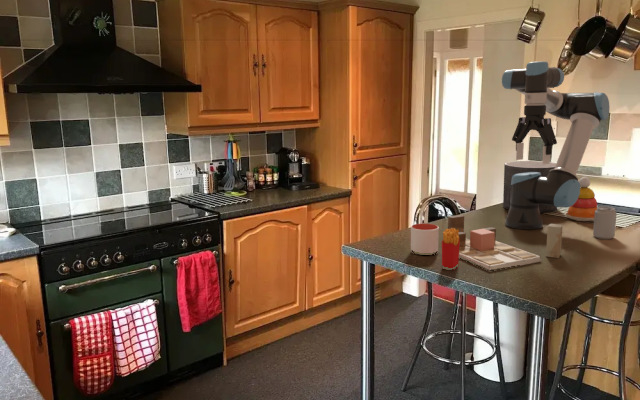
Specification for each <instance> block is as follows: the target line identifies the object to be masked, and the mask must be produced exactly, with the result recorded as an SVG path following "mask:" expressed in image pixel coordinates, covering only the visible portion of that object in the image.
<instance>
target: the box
mask: <svg viewBox="0 0 640 400" xmlns="http://www.w3.org/2000/svg"><path fill="white" fill-rule="evenodd" d="M563 226H564V225H563V224H557V223H549V224H548V225H547V233H546V250H545V257H548V258H554V259H556V258H557V259H559V258H560V256H561V252H562V241H563V240H562V238H563Z"/></svg>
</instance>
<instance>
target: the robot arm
mask: <svg viewBox="0 0 640 400" xmlns="http://www.w3.org/2000/svg"><path fill="white" fill-rule="evenodd" d="M564 80H565V74H564V70H562V69H561V68H559V67H555V66H554V67H553V66H552V67H549V63H548V61H530V62H528V63H526V68H518V69H507V70H505V71H504V72H503V73H502V78H501V85H502V87H503V88H504V90H505V89H506V90H516V91H517V92H519V93H521V94H523V96H524V104H525V105H524V107H523V116H524V117H523V116H522V117H519V118H518V122H517V125H516V128H515V131H514V133H513V136H512V137H511V141H513V142H515V151H516V155H515V156H516V158H515V160H516V161H524V140H525V138H526V137H527V135H528V134H529V132H530V131H536V132H537V133H538V134H539V136H540V139H541V140H542V142H543V144H544V145H543V147H542V161H543V162H542V164H549V163H550V162H551V156H552V149H553V146H554V145H557V144H558V142H557V139H556V135H555V132H554V128H553V126H552V119H551V118H550V117H548V118H547V117H546V118H545V116H546V114H547V113H548V114H550V115H552V116H554V117H556V118H558V119H563V120H566V121H570V122H571V125H570V127H569V130H568V132H567V135H566V137H565V140H564V143H563V146H562V148H561V150H560V153H559V155H558V158H557V161H556V162H555V163H556V166H555V168H554V169H552V170H550V171H549V173H548V176H547V177H541V173H540V172H528V173H519V174H515V175H513V176H512V181H511V200H510V209H509V210H508V212H507V215H506V217H505V220H504V225H505V226H507V227H509V228H513V229H518V230H538V229H542V227H543V219H542V217H541V213H540V211H539V204H542V205H549V206H556V207H557V208H569V207H570V206H572V205H573V204H574V203H575V202H576V201H577V199H578V197H579V194H580V188H581V187H580V183H579V178H578V176H577V173H578V171H579V167H580V165H581V162H582V160H583V157H584V155H585V152H586V149H587V146H588V144H589V141H590V139H591V136H592V132H593V131H594V129H595V128H598V127H599V126H600V123H601V121H606V120H608V118H609V115H610V100H609V98H608V95H607V94H606V93H604V92H597V91H594V92H560V91H558V90H553V89H555V88H558V87H559V86H561V85H562V84H563V83H564V82H565V81H564Z"/></svg>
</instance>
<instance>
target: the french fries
mask: <svg viewBox="0 0 640 400" xmlns="http://www.w3.org/2000/svg"><path fill="white" fill-rule="evenodd" d="M450 229H451V230H450ZM450 229H448V228H446V229H444V231H442V232H443V234H442V235H443V237H442V240H441V266H442V265H443V266H444V267H448V268H453V267H455V266H456V265H457V264H458V265H459V263H460V261H459V260H460V258H459V245H460V239H459V230H458V229H457V230H456V229H455V228H453V229H452V228H450Z"/></svg>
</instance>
